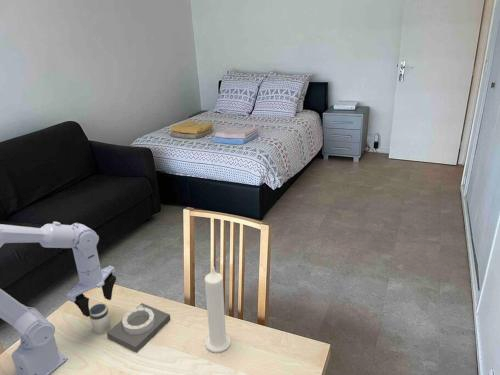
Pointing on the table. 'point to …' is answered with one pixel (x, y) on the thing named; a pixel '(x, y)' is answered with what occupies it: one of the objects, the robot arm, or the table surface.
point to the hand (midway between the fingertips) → (97, 306)
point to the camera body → (138, 327)
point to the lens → (100, 319)
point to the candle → (216, 313)
